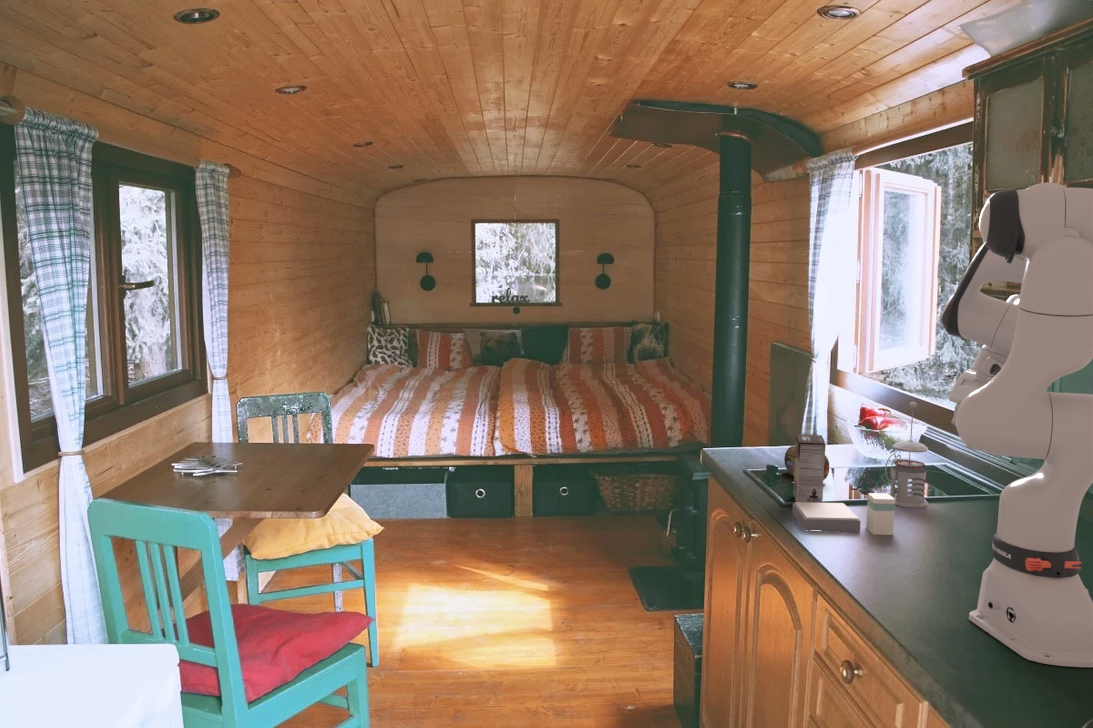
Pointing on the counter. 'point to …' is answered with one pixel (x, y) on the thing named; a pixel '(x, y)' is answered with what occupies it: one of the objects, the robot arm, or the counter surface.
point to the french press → (908, 474)
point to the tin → (790, 462)
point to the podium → (826, 517)
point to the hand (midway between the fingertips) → (966, 429)
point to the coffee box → (809, 468)
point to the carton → (880, 513)
